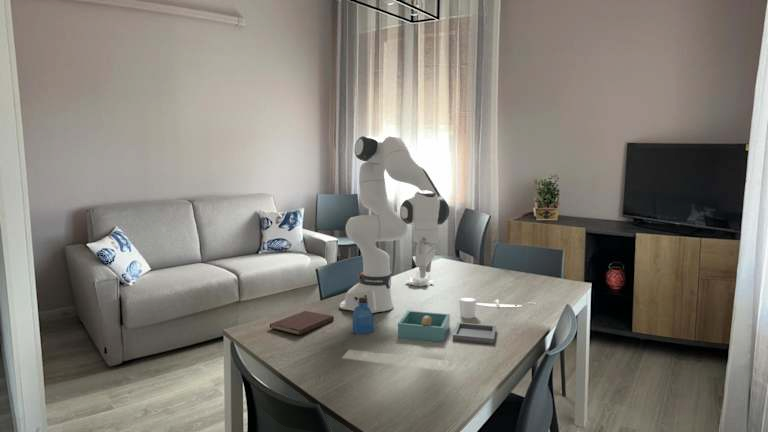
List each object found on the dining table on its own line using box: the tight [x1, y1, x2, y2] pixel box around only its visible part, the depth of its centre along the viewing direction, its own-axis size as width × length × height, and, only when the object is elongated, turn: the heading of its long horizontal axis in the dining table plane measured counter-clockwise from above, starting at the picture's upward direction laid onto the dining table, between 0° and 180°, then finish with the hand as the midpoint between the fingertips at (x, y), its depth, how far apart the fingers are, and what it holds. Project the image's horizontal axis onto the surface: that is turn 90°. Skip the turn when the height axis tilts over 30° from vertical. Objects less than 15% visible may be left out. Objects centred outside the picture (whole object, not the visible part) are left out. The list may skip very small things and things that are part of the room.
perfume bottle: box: [352, 298, 374, 335], centre depth 187 cm, size 6×6×12 cm
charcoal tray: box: [452, 322, 497, 345], centre depth 183 cm, size 14×14×2 cm
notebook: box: [269, 310, 335, 336], centre depth 196 cm, size 15×20×2 cm
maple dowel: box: [421, 316, 432, 326], centre depth 182 cm, size 3×3×9 cm
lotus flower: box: [404, 270, 435, 288], centre depth 247 cm, size 14×15×9 cm
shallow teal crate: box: [397, 310, 451, 343], centre depth 186 cm, size 16×16×5 cm
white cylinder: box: [458, 296, 478, 319], centre depth 205 cm, size 7×7×7 cm
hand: (425, 274), depth 184 cm, fingers open, 8 cm apart
